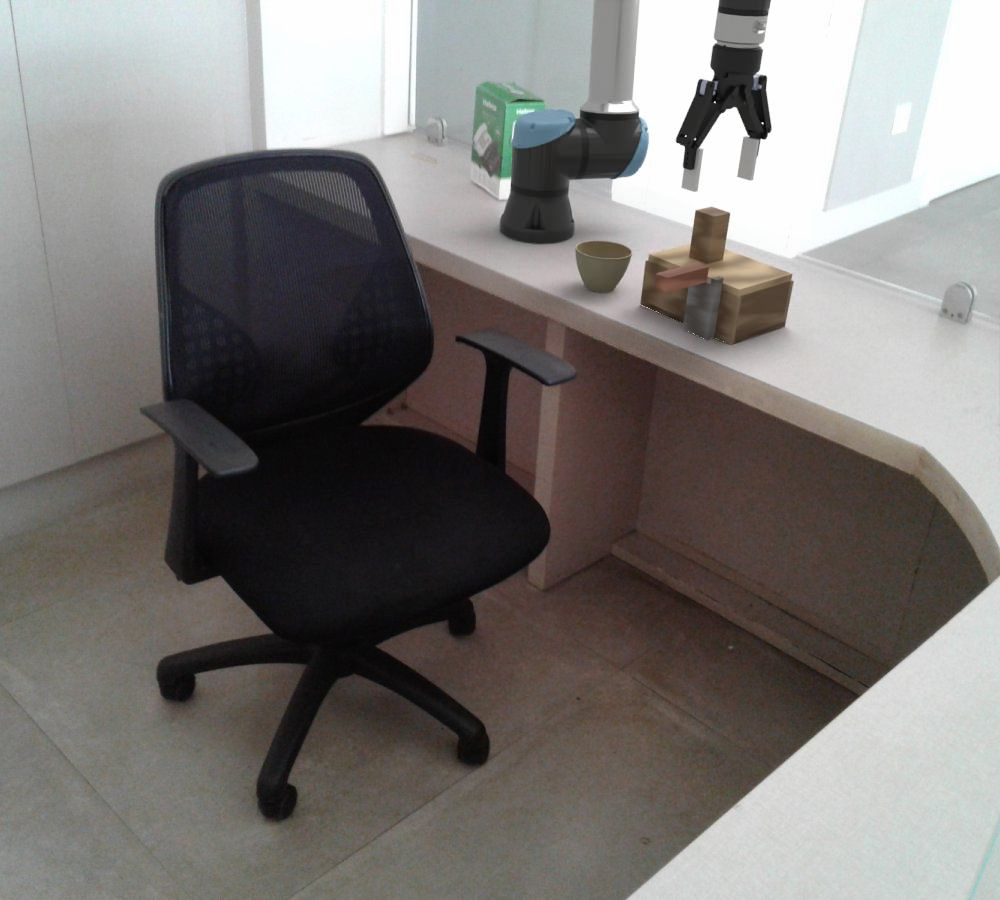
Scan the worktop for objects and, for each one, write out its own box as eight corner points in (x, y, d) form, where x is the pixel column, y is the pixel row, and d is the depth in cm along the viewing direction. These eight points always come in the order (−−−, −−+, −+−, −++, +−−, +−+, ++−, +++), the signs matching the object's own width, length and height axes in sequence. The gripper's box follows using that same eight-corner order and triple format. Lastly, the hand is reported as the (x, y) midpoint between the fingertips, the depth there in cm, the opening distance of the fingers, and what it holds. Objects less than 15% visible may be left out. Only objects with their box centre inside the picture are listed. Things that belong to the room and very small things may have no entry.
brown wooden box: (632, 307, 179) (639, 249, 174) (694, 289, 188) (702, 234, 183) (722, 347, 166) (733, 286, 161) (784, 326, 175) (796, 268, 170)
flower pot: (619, 301, 181) (624, 262, 178) (564, 291, 184) (568, 252, 180) (634, 283, 189) (638, 245, 186) (581, 274, 192) (584, 236, 189)
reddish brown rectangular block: (654, 288, 160) (656, 273, 159) (695, 277, 166) (697, 262, 164) (665, 293, 159) (667, 277, 157) (706, 281, 164) (709, 266, 163)
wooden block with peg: (648, 260, 176) (654, 207, 172) (701, 247, 184) (708, 195, 179) (738, 296, 163) (747, 239, 159) (791, 280, 171) (801, 225, 166)
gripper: (702, 52, 149) (682, 200, 159) (809, 42, 163) (784, 179, 173) (663, 44, 154) (647, 188, 164) (770, 36, 168) (749, 169, 178)
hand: (717, 184), depth 168 cm, fingers open, 13 cm apart
